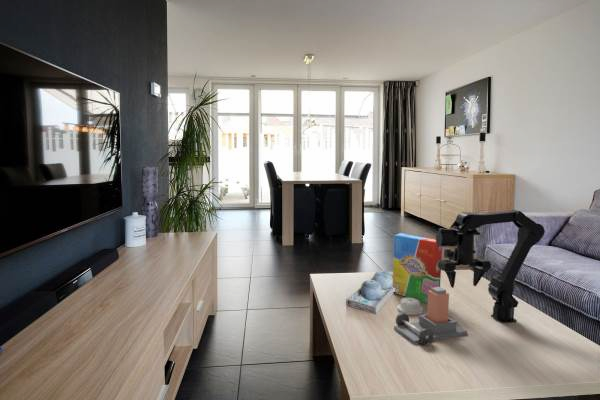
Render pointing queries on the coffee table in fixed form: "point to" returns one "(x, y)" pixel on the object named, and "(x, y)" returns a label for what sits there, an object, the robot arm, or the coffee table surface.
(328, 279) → the coffee table surface
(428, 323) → the chassis
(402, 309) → the mechanical component
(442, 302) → the two-tone capped block
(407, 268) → the game box
